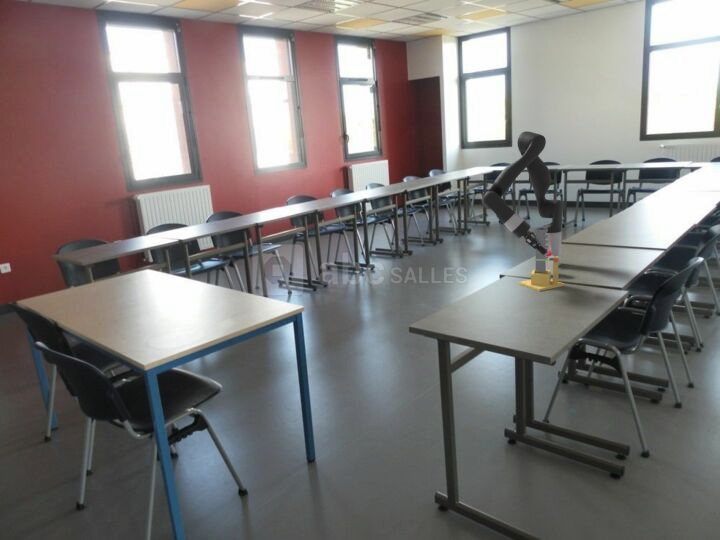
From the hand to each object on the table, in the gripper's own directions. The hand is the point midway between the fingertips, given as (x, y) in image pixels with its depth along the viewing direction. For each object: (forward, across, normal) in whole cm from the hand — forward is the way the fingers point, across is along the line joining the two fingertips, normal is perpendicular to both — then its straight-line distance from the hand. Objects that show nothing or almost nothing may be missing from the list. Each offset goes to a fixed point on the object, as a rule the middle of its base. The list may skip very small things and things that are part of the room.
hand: (545, 252), depth 235 cm
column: (+5, 0, +7) cm, 9 cm away
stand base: (+9, 0, +12) cm, 15 cm away
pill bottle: (+10, +19, +12) cm, 25 cm away
